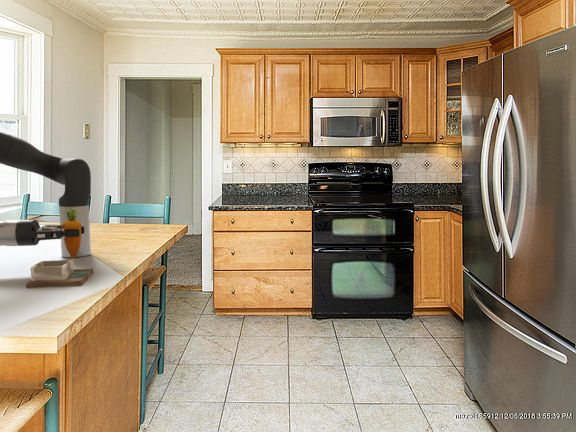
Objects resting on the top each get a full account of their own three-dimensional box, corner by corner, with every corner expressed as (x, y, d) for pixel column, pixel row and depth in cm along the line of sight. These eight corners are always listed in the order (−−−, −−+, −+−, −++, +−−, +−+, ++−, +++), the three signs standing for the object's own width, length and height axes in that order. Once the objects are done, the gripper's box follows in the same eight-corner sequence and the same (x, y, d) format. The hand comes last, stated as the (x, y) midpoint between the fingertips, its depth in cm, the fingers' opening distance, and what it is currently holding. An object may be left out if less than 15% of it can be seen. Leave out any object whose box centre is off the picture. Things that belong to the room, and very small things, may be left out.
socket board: (44, 274, 129) (43, 258, 128) (93, 272, 131) (92, 256, 131) (26, 287, 115) (25, 269, 114) (81, 285, 117) (80, 267, 117)
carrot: (64, 257, 135) (61, 207, 133) (82, 255, 137) (79, 206, 136) (64, 260, 131) (61, 209, 129) (83, 259, 133) (80, 208, 131)
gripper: (7, 223, 123) (74, 222, 126) (27, 216, 137) (87, 215, 140) (9, 250, 124) (76, 248, 127) (28, 241, 138) (88, 239, 141)
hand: (81, 231), depth 134 cm, fingers closed on carrot, 4 cm apart
